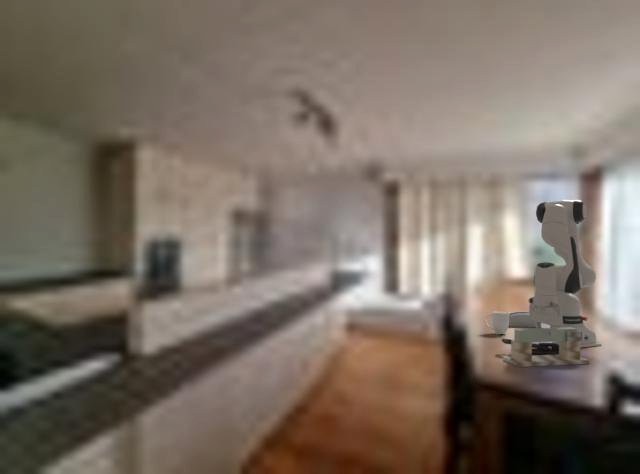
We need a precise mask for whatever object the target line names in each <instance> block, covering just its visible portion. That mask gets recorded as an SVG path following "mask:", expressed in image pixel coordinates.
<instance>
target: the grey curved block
mask: <svg viewBox="0 0 640 474" xmlns="http://www.w3.org/2000/svg"><path fill="white" fill-rule="evenodd" d="M508 327H514V328H516V327H517V328H519V327H520V328H522V327H523V328H537V327H536V324H535V321H534V320H531V319H530V316H529V311H524V310H521V311H513V312H512V311H511V312H509V326H508Z"/></svg>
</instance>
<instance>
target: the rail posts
mask: <svg viewBox="0 0 640 474" xmlns="http://www.w3.org/2000/svg"><path fill="white" fill-rule="evenodd" d="M510 340H511V344H510V347H511V348H510V351H511V352H510V355H511V356H503V362H507V363H508V362H509V364H510V363H511V365H512V364H513V366H514V367H517V368H521V367H522V368H523V367H525V368H526V367H542V366H543V367H545V366H546V367H547V365H548V366H567V365H569V364H571V365H588V364H590V360H589V359H588V358H584V357H582V356H581V347H580V341H582V331H578V330H577V331H576V332H567V341H559V354H558V355H534V356H532V343H533V342H524V343H519V342H516V341H514V339H510Z"/></svg>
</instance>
